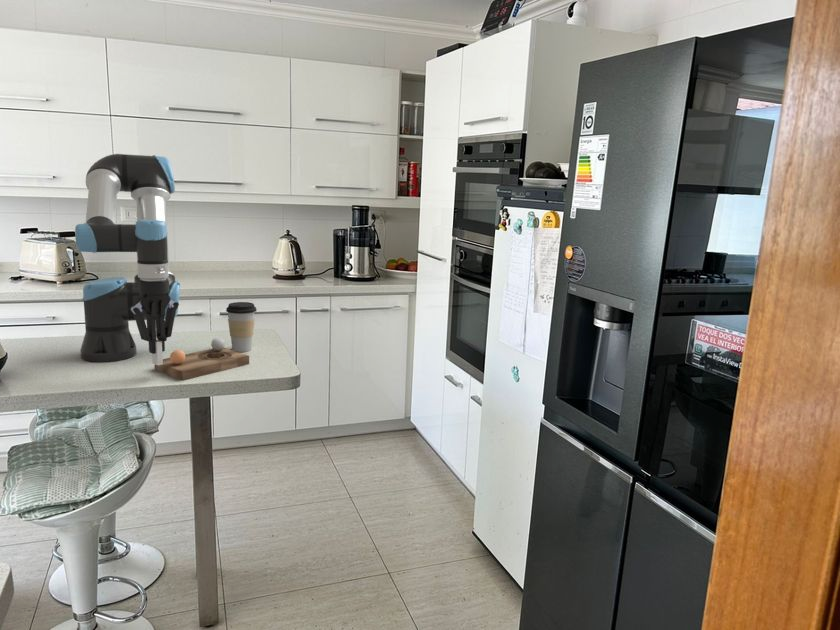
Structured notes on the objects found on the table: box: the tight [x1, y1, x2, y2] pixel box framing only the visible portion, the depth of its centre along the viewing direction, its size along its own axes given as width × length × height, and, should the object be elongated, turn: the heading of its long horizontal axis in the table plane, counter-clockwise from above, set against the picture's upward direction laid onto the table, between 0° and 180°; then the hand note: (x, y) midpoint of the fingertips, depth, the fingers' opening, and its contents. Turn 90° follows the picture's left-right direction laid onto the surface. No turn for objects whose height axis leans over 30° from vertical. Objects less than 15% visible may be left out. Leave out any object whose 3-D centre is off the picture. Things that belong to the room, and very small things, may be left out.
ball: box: [169, 349, 185, 364], centre depth 172 cm, size 4×4×4 cm
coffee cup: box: [225, 301, 257, 353], centre depth 197 cm, size 9×9×15 cm
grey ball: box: [210, 337, 226, 351], centre depth 187 cm, size 4×4×4 cm
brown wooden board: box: [154, 347, 250, 381], centre depth 179 cm, size 14×22×2 cm, turn 143°
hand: (157, 363), depth 167 cm, fingers closed
